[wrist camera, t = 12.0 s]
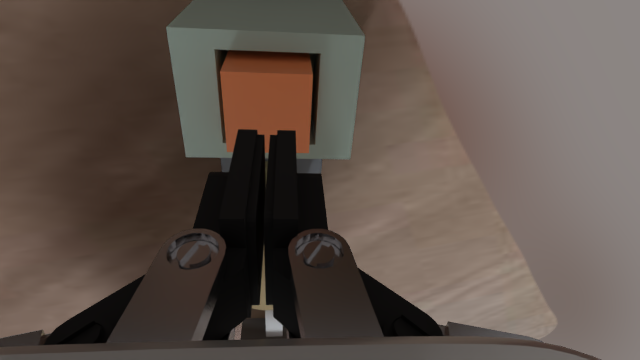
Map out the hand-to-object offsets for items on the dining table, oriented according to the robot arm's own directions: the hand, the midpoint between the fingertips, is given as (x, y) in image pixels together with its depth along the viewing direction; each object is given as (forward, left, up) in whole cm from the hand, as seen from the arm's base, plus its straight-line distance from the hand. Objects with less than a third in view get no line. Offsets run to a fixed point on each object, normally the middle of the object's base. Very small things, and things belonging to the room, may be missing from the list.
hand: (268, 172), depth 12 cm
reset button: (0, 0, -8) cm, 8 cm away
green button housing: (0, 0, -15) cm, 15 cm away
